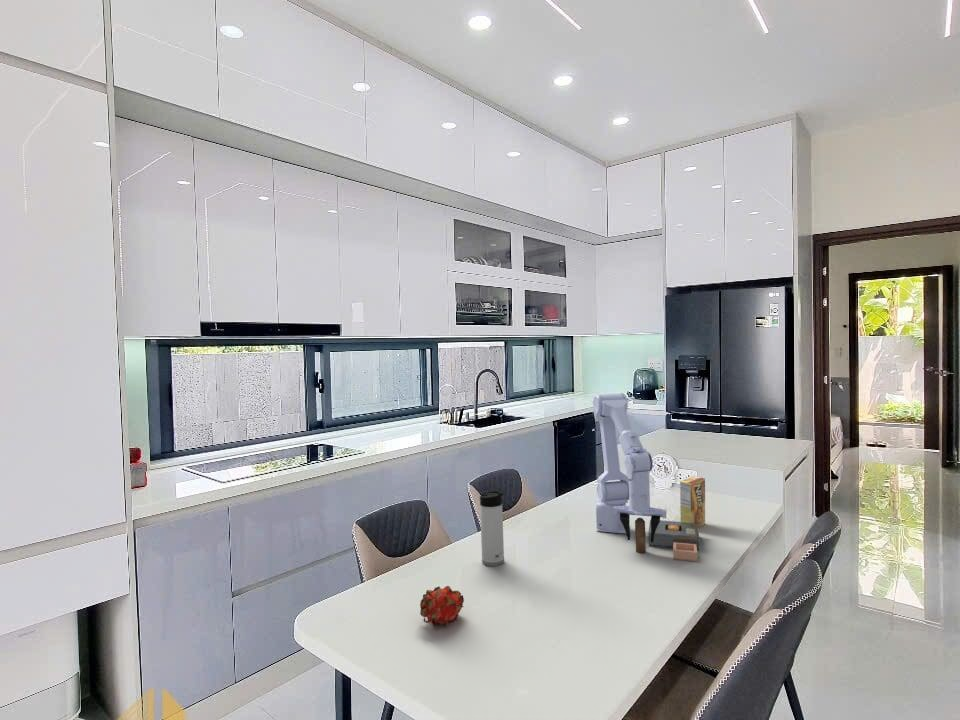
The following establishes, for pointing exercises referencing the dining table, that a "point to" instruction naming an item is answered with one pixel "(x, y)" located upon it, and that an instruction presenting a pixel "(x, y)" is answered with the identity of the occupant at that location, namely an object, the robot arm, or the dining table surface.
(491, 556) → the travel mug
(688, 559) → the holder
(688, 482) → the candy box
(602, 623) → the dining table surface
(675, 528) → the button
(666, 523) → the panel
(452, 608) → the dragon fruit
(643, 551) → the brown wooden cylinder
